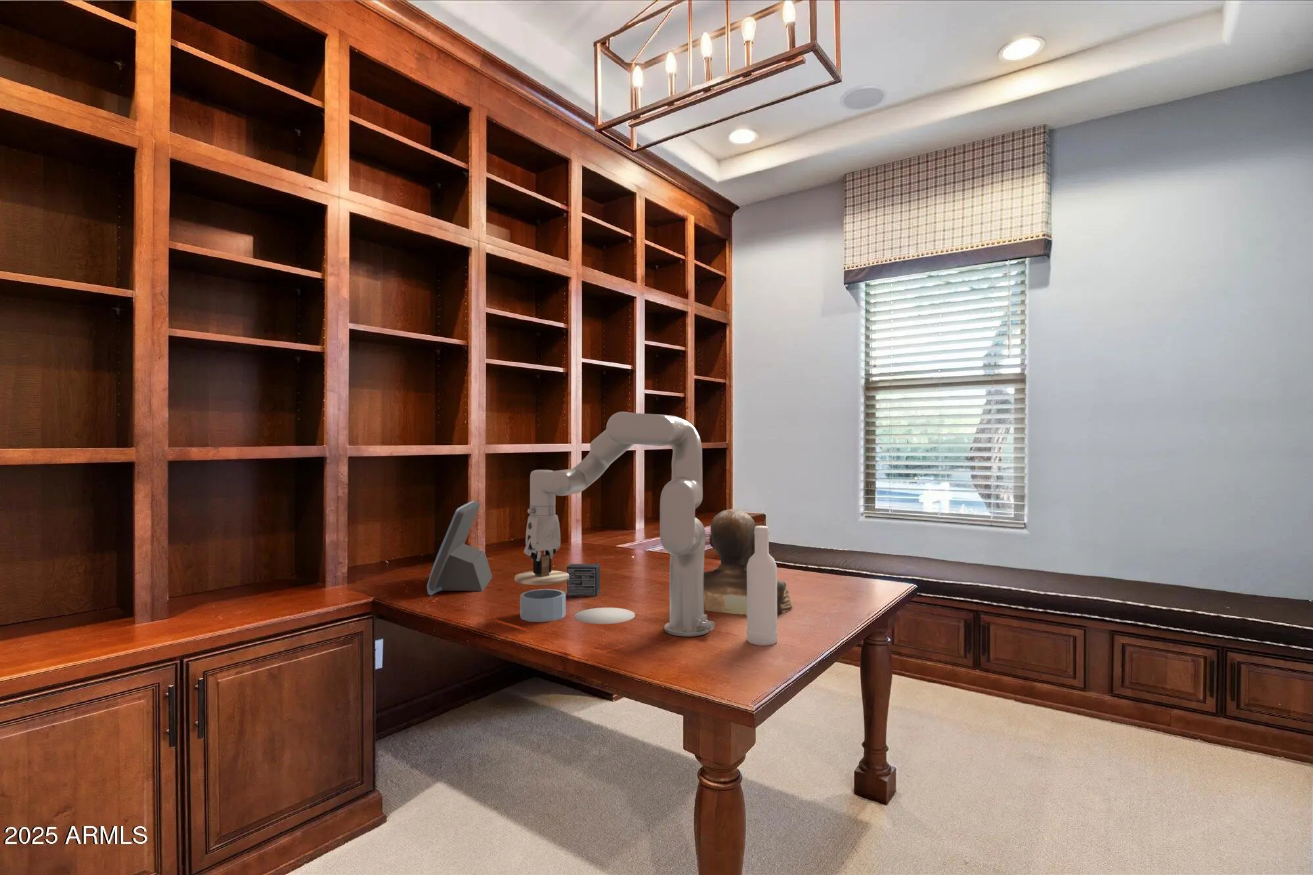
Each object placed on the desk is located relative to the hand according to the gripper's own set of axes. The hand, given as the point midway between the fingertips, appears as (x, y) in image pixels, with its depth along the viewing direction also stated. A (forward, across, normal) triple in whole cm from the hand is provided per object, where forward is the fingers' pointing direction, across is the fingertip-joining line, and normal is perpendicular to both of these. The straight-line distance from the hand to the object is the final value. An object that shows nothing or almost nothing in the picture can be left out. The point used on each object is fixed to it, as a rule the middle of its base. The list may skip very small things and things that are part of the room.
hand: (542, 572), depth 192 cm
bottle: (+13, +22, -62) cm, 67 cm away
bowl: (+14, 0, 0) cm, 14 cm away
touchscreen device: (+14, +10, +58) cm, 61 cm away
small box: (+14, +27, +11) cm, 32 cm away
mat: (+13, +12, -14) cm, 23 cm away
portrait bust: (+13, +49, -36) cm, 63 cm away
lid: (+2, 0, 0) cm, 2 cm away
